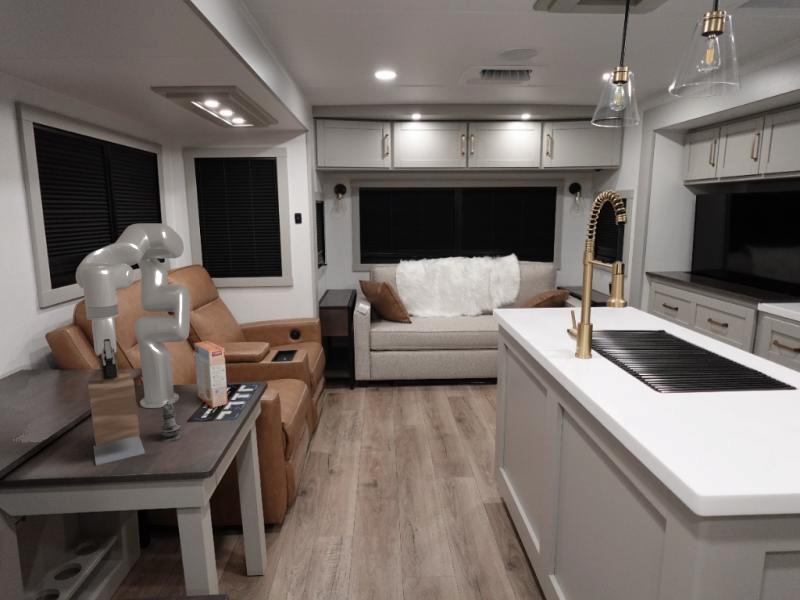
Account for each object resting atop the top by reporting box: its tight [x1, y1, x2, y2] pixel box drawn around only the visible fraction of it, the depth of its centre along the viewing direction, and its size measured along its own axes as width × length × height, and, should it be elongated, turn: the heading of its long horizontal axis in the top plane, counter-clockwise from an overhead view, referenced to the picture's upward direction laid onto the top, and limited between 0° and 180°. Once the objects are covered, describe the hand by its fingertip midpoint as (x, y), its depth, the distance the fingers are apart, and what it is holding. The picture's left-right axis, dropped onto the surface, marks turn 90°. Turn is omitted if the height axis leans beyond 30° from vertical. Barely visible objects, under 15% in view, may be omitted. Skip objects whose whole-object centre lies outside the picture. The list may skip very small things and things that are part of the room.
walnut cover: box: [86, 356, 141, 446], centre depth 140 cm, size 11×11×22 cm
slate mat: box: [92, 435, 146, 466], centre depth 144 cm, size 12×12×1 cm
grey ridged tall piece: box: [159, 401, 182, 443], centre depth 150 cm, size 6×6×12 cm
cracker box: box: [193, 340, 229, 409], centre depth 178 cm, size 14×6×21 cm, turn 41°
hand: (109, 375), depth 139 cm, fingers closed on walnut cover, 4 cm apart
